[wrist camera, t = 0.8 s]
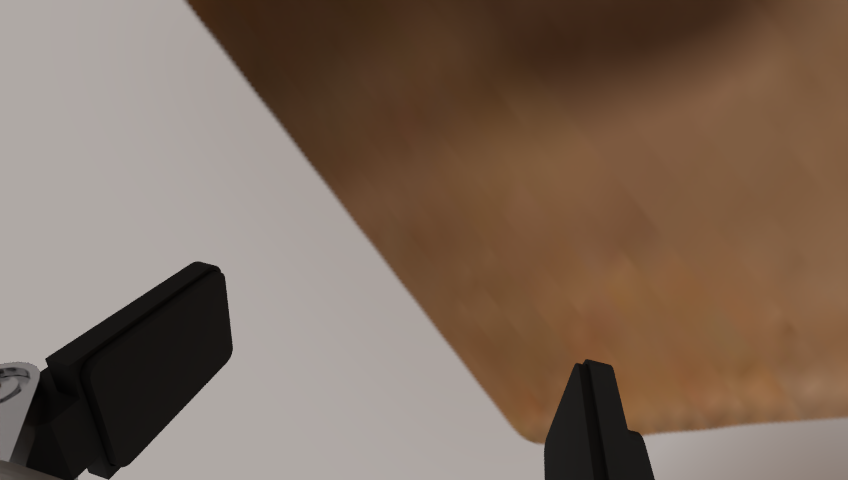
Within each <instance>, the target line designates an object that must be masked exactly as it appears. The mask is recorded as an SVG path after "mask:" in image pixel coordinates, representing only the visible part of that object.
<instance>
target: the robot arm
mask: <svg viewBox="0 0 848 480" xmlns="http://www.w3.org/2000/svg"><path fill="white" fill-rule="evenodd" d="M232 351H233V346H232V336H231V327H230V318H229V309H228V300H227V291H226V282H225V276H224V274H223V273H221V270H220V269H219V267H217V266H214V265H211V264H206V263H203V262H193V263H192V264H190V265H189V266H187V267H185V268H184V269H182V270H181V271H179V272H178V273H176V274H175V275H173V276H171V277H170V278H168V279H167V280H165V281H164V282H162V283H161V284H159V285H158V286H156V287H154V288H153V289H151V290H150V291H148V292H147V293H145V294H144V295H143V296H141V297H139V298H138V299H136V300H135V301H133V302H131V303H130V304H129V305H127V306H126V307H124V308H122V309H121V310H119V311H118V312H116V313H115V314H113V315H112V316H110V317H108V318H107V319H105V320H104V321H102V322H101V323H100V324H98V325H96V326H95V327H93V328H92V329H90V330H89V331H87V332H86V333H84V334H83V335H81V336H79V337H78V338H76V339H75V340H73V341H72V342H70V343H69V344H67V345H66V346H64V347H63V348H61V349H60V350H58V351H56V352H55V353H53V354H52V355H50V356H49V357H47V358H46V359H45V360H46V362H47V365H48V367H47V368H46V369H44V370H43V371H41V372H40V371H39V369H38V368H37V367H36V366H35V365H32V364H30V363H23V362H12V363H4V364H0V480H78V476H79V475H80V474H81V473H82V472H83V471H84V470H85V469H86V468H87V469H88V472H89V473H91V474H94V475H97V476H100V477H103V478H105V479H108V480H109V479H110V478H111V477H112V476H113V475H114V474H115V473H116V472H117V471H118V470H119V469H120V468H121V467H125V466H127V465H129V464H130V463H131V462H132V461H133V460H134V459H135V458H136V457H137V456H138V455H139V454H140V453H141V452H142V451H143V450H144V449H145V448H146V447H147V446H148V444H150V442H151V441H152V440H153V439H154V438H155V437H156V436H157V435H158V434H159V433H160V432H161V431H162V430H163V429H164V428H165V427H166V426H167V425H168V424H169V423H170V421H171V420H172V419H173V418H174V417H175V416H176V415H177V414H178V413H179V412H180V411H181V410H182V409H183V408H184V407H185V406H186V405H187V404H188V403H189V402H190V401H191V399H192V398H193V397H194V396H195V395H196V394H197V393H198V392H199V391H200V390H201V389H202V388H203V387H204V385H206V383H208V382H209V381H210V380H211V379H212V377H213V376H214V375H215V374H216V373H217V372H218V371H219V370H220V369H221V368H222V367H223V366H224V365H225V364H226V363H227V362H228V360H229V359H230V357H231V354H232ZM544 460H545V461H544V464H545V480H655V479H654V475H653V471H652V468H651V464H650V460H649V457H648V453H647V450H646V446H645V443H644V440H643V437H642V436H641V435H640V433H638V432H635V431H631V430H628V428H627V424H626V420H625V416H624V411H623V407H622V403H621V399H620V395H619V391H618V386H617V382H616V378H615V374H614V370H613V367H612V366H611V365H608V364H604V363H600V362H596V361H592V360H588V359H586V360H585V361H584V363H583V364H579V363H576V364H575V365H574V368H573V370H572V373H571V375H570V378H569V381H568V383H567V386H566V388H565V391H564V394H563V396H562V399H561V401H560V404H559V406H558V409H557V412H556V414H555V417H554V419H553V422H552V425H551V427H550V430H549V432H548V435H547V438H546V442H545V448H544Z"/></svg>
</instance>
